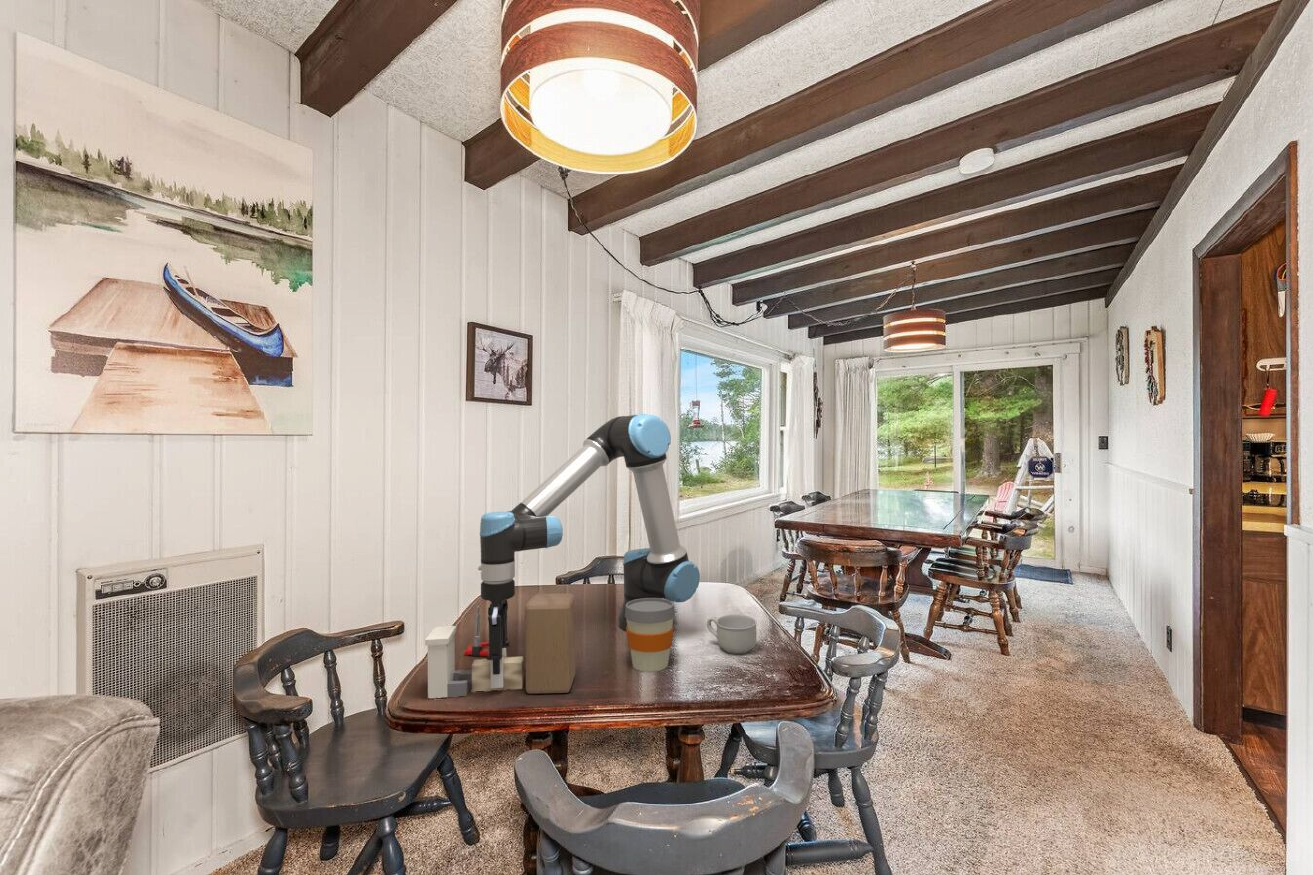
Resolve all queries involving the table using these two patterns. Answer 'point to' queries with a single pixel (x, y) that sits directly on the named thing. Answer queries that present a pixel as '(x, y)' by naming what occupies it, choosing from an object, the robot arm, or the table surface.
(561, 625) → the block
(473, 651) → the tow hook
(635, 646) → the reusable coffee cup
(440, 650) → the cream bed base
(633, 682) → the table surface
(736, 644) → the teacup
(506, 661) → the rail
